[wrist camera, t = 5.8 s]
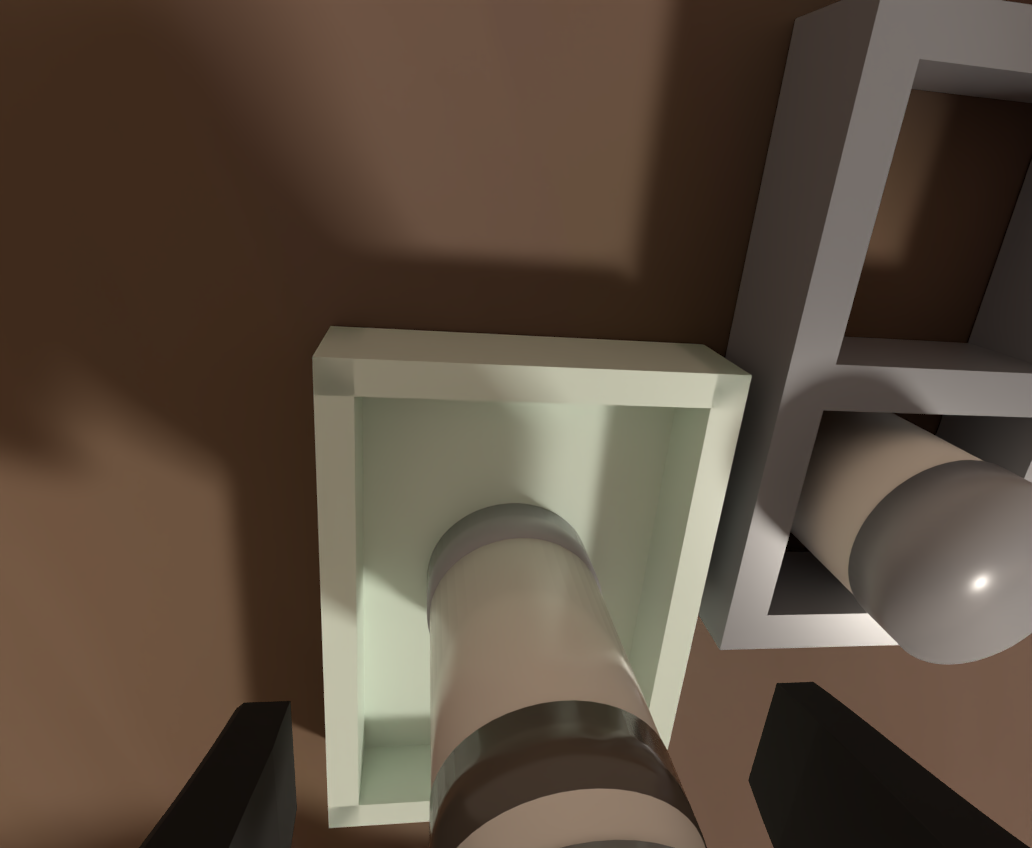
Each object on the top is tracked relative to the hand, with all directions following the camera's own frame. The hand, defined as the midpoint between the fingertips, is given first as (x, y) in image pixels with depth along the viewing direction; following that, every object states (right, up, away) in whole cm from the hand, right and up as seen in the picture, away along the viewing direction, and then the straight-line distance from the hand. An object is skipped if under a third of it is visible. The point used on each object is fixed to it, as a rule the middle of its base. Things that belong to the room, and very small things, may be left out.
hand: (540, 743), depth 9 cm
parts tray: (-1, +2, +4) cm, 5 cm away
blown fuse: (0, +2, +4) cm, 4 cm away
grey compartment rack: (+7, +6, +3) cm, 10 cm away
